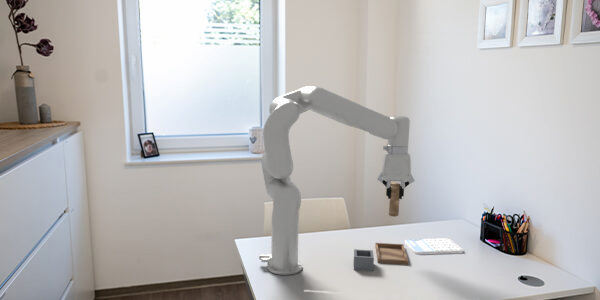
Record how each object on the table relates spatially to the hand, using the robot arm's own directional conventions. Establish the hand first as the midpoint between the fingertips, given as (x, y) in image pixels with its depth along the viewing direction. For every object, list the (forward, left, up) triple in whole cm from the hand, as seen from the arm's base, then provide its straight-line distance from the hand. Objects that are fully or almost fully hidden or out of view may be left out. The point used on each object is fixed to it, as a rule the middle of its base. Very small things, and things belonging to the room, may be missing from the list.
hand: (394, 197), depth 173 cm
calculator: (+18, +12, -24) cm, 32 cm away
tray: (0, 0, -23) cm, 23 cm away
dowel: (0, 0, -7) cm, 7 cm away
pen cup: (-11, -12, -23) cm, 29 cm away
